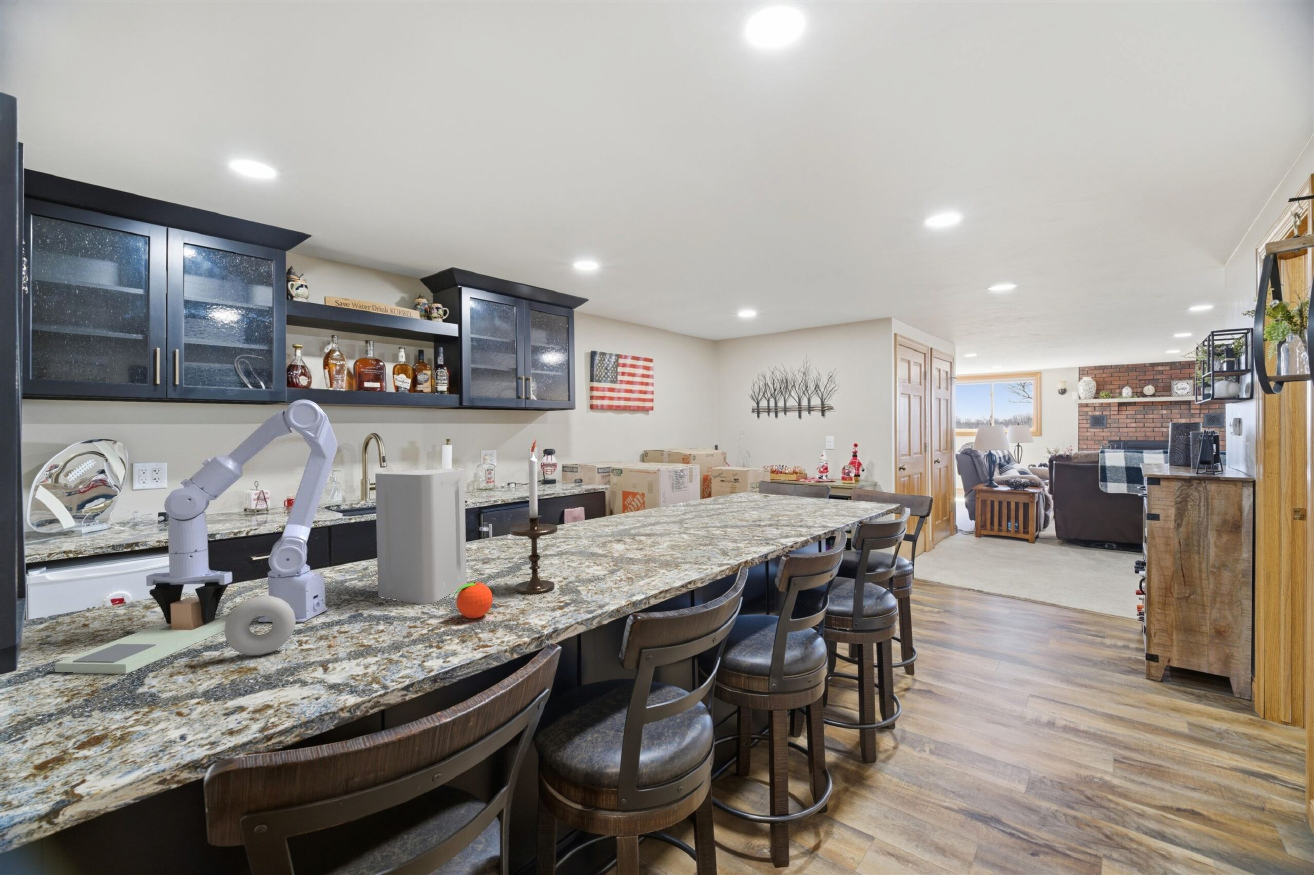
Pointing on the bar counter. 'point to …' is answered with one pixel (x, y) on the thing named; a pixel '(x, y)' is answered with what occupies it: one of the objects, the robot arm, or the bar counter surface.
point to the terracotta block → (186, 614)
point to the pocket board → (138, 649)
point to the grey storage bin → (420, 534)
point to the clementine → (474, 600)
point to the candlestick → (533, 536)
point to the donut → (265, 643)
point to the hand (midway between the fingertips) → (190, 622)
